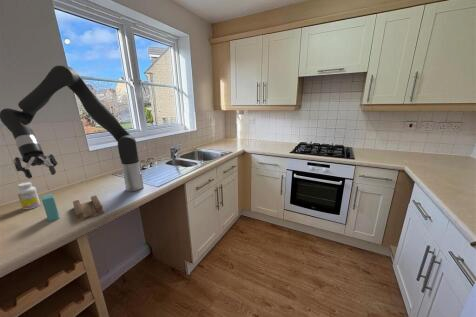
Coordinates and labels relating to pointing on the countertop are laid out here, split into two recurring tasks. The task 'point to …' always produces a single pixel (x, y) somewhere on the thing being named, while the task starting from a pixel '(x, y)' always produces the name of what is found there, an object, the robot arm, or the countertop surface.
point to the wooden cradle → (88, 208)
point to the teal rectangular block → (50, 207)
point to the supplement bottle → (28, 196)
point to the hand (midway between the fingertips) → (42, 175)
